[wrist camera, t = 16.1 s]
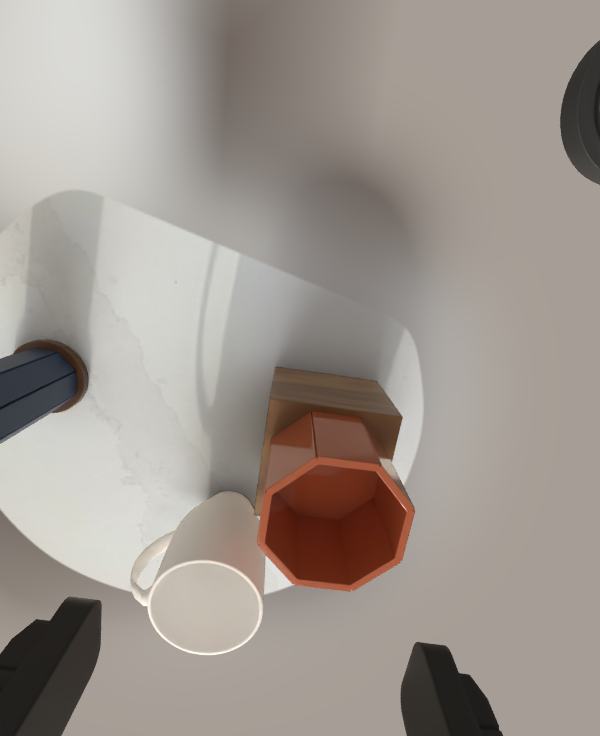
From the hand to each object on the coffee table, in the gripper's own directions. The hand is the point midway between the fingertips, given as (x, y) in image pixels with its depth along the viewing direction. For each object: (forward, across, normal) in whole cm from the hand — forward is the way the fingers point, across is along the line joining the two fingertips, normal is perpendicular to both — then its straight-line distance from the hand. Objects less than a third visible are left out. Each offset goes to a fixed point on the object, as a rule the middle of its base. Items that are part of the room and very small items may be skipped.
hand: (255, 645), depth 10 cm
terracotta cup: (+19, -4, +6) cm, 20 cm away
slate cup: (+27, +22, +5) cm, 35 cm away
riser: (+28, -4, +6) cm, 29 cm away
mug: (+28, +5, +18) cm, 33 cm away
